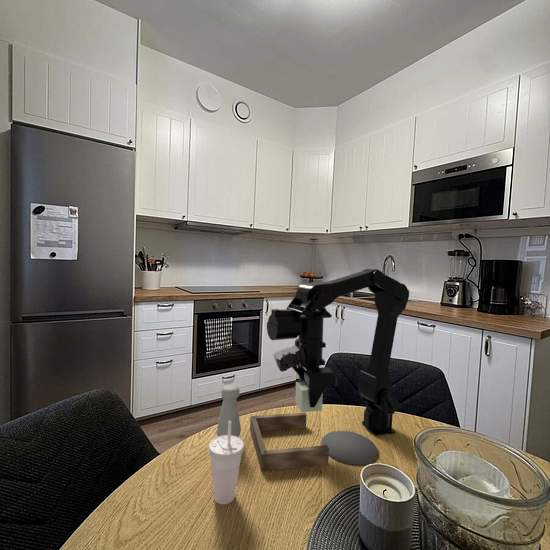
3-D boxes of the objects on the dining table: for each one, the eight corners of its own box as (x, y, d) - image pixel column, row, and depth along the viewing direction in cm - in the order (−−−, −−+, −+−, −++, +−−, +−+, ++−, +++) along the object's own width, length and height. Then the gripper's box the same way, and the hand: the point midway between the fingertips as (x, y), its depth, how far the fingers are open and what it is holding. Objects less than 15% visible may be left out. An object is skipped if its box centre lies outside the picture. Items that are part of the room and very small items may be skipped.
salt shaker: (238, 448, 71) (240, 392, 71) (213, 446, 71) (216, 391, 71) (241, 434, 77) (244, 383, 76) (218, 433, 77) (221, 381, 77)
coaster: (360, 431, 81) (360, 429, 81) (389, 461, 68) (389, 459, 68) (313, 434, 78) (313, 432, 78) (334, 467, 65) (334, 465, 65)
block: (314, 400, 76) (315, 380, 76) (322, 410, 71) (322, 389, 71) (295, 402, 75) (295, 382, 75) (301, 412, 70) (301, 390, 70)
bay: (304, 425, 83) (305, 412, 82) (328, 464, 67) (329, 448, 66) (249, 429, 79) (250, 416, 79) (260, 471, 63) (261, 454, 63)
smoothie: (226, 516, 51) (229, 434, 51) (198, 499, 55) (201, 422, 55) (249, 493, 57) (252, 418, 57) (222, 479, 60) (225, 409, 60)
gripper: (269, 329, 80) (268, 388, 80) (287, 348, 62) (285, 425, 62) (310, 328, 82) (308, 385, 83) (339, 346, 64) (336, 420, 64)
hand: (308, 401), depth 73 cm, fingers closed on block, 5 cm apart
